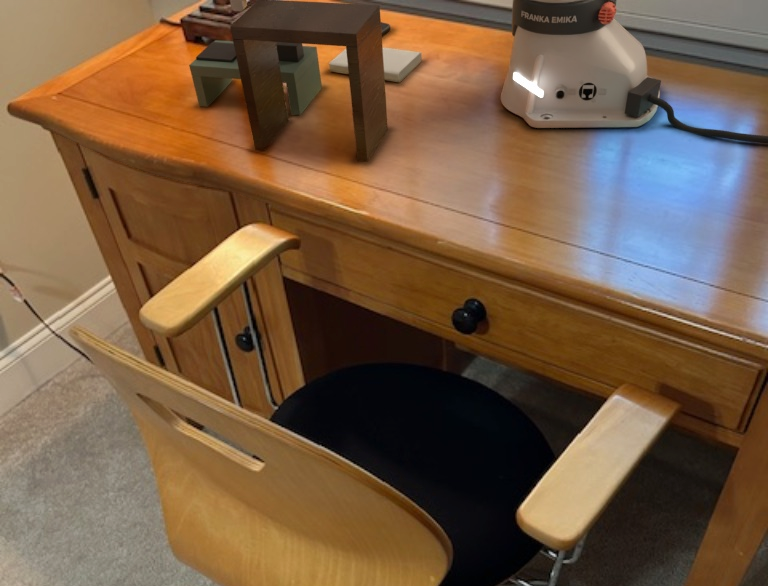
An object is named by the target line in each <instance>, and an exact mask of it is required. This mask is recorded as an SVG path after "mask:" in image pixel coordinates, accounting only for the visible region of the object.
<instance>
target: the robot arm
mask: <svg viewBox="0 0 768 586" xmlns="http://www.w3.org/2000/svg"><path fill="white" fill-rule="evenodd" d="M229 4H230V7H231V9H232V11H233V12H243V11H244V10H245V9H246V8H247V7H248V1H247V0H229ZM616 13H617V0H512V7H511V28H512V29H511V33H512V46H511V51H510V52H511V53H510V57H509V63H508V67H507V72H506V76H505V80H504V83H503V86H502V89H501V93H500V95H499V97H500V102H501V104H502V105H503V107H504V108H505V109H506V110H508V111H509V112H511V113H513V114H515V115H517V116H519V117H520V118H522V119H523V120H524V122H526V123H527V124H528V126H530V127H532V128H535V129H536V128H537V129H550V128H551V129H554V128H555V129H559V128H561V129H562V128H563V129H565V128H566V129H568V128H569V129H570V128H572V129H573V128H575V129H576V128H577V129H579V128H638V127H641V126H643V125H645V124H646V123H648V122H649V121H650V120H651V119H652V118H653V117H654V115H656V112H657V111H658V107H660V108H661V109H663V110H664V111H665V112H666V117H667V120H668V123H669V124H670V125H672V126H673V127H674V128H676V129H678V130H681V131H685V132H687V133H690V134H694V135H698V136H703V137H713V138H720V139H726V140H732V141H733V140H734V141H739V142H748V143H758V144H759V143H760V144H768V135H763V134H762V135H760V134H752V133H751V134H749V133H741V132H736V131H729V130H722V129H714V128H713V129H712V128H699V127H694V126H690V125H687V124H685V123H683V122H681V121H680V120H679V119H677V118H676V116H675V111H674V108H673V106H671V104H670V103H668V101H666V100H665V99H662V98H660V97H661V96H660V94H661V91H660V90H661V89H660V88H661V84H662V83H661V82H662V80H661V79H657V78H653V77H651V76H648V61H647V54H646V50H645V47H644V45H643V44H642V43H641V42H640V41H639V40H638V39H636V37H635V36H633V35H632V34H631V32H629V31H628V30H627V29H625V27H624V26H622V25H621V23H619V21H617V20H616V19H615V16H616Z"/></svg>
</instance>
